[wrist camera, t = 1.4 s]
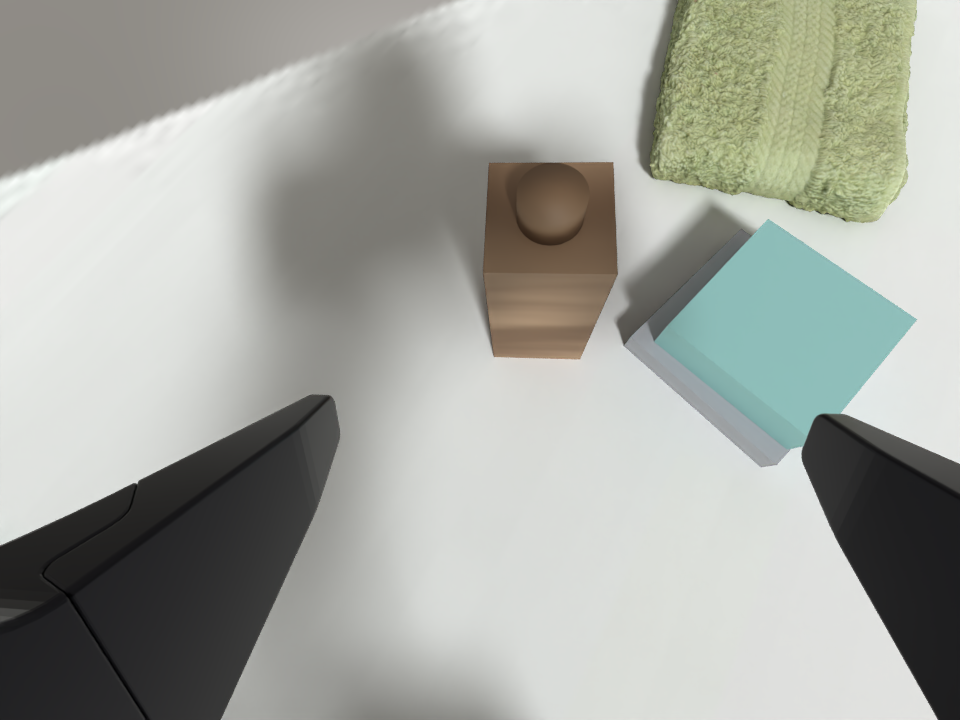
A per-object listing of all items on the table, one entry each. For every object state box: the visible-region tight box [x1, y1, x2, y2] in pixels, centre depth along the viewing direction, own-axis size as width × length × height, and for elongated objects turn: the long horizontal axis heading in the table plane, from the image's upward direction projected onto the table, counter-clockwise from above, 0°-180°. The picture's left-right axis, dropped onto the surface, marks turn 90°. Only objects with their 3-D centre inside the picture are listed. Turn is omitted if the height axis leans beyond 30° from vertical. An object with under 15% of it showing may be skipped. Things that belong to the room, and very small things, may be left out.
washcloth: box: [650, 0, 917, 223], centre depth 26 cm, size 13×18×3 cm
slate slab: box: [624, 229, 790, 467], centre depth 22 cm, size 8×8×2 cm
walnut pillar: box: [483, 162, 618, 359], centre depth 19 cm, size 4×4×10 cm
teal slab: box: [654, 219, 917, 450], centre depth 20 cm, size 7×7×2 cm
